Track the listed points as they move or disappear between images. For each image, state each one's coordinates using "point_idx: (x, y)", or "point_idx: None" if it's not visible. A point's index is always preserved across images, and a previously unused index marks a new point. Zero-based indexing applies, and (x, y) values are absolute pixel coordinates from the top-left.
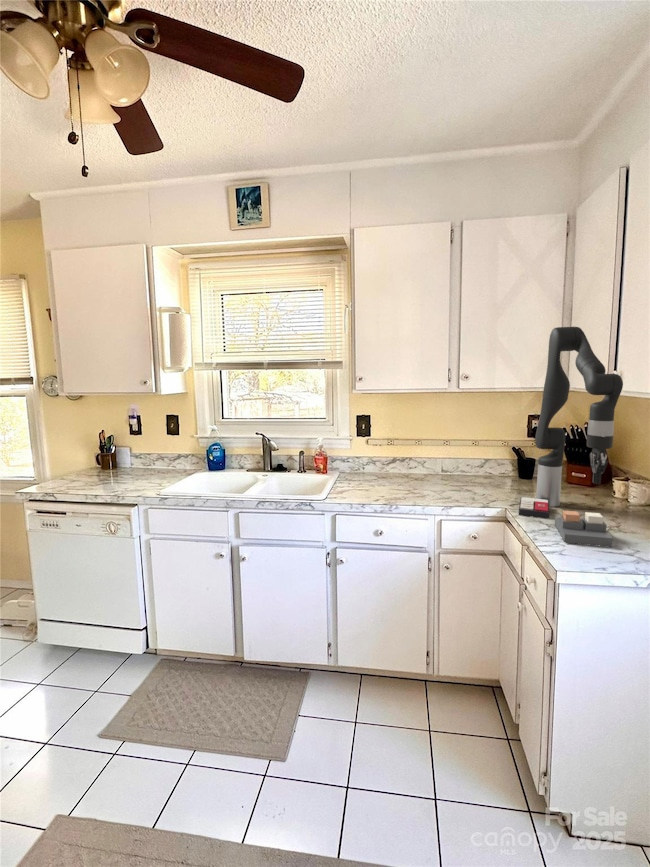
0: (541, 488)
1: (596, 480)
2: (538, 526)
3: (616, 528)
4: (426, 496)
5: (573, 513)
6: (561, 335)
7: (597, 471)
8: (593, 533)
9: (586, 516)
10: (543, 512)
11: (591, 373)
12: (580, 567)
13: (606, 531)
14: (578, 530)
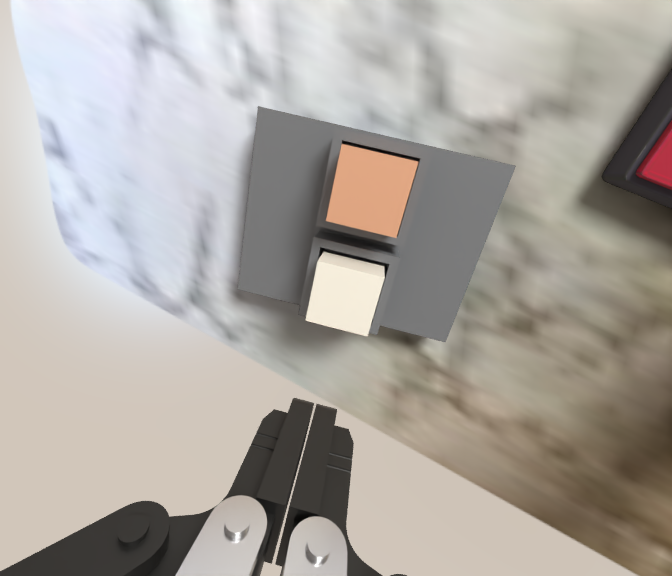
0: None
1: (258, 433)
2: (487, 67)
3: (436, 389)
4: None
5: (361, 200)
6: None
7: (102, 531)
8: (282, 244)
9: (358, 266)
10: (640, 147)
11: None
12: (40, 69)
13: None
14: (313, 197)
